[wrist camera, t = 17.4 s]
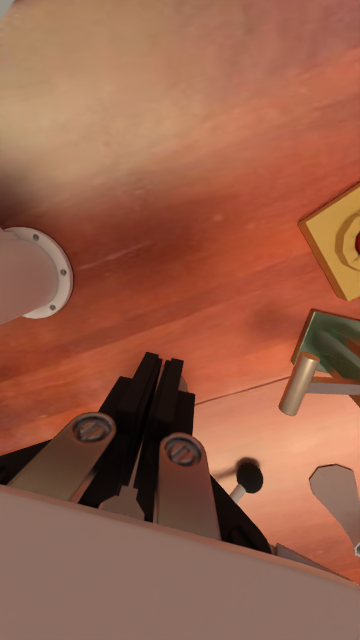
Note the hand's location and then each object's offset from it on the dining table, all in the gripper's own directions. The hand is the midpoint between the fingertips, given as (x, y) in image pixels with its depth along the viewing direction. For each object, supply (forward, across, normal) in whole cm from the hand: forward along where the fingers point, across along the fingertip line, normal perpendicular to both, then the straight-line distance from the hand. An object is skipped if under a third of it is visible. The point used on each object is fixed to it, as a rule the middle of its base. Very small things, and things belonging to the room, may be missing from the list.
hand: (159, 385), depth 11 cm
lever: (+14, -16, +4) cm, 21 cm away
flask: (+25, -30, +27) cm, 47 cm away
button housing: (+25, -18, -10) cm, 32 cm away
